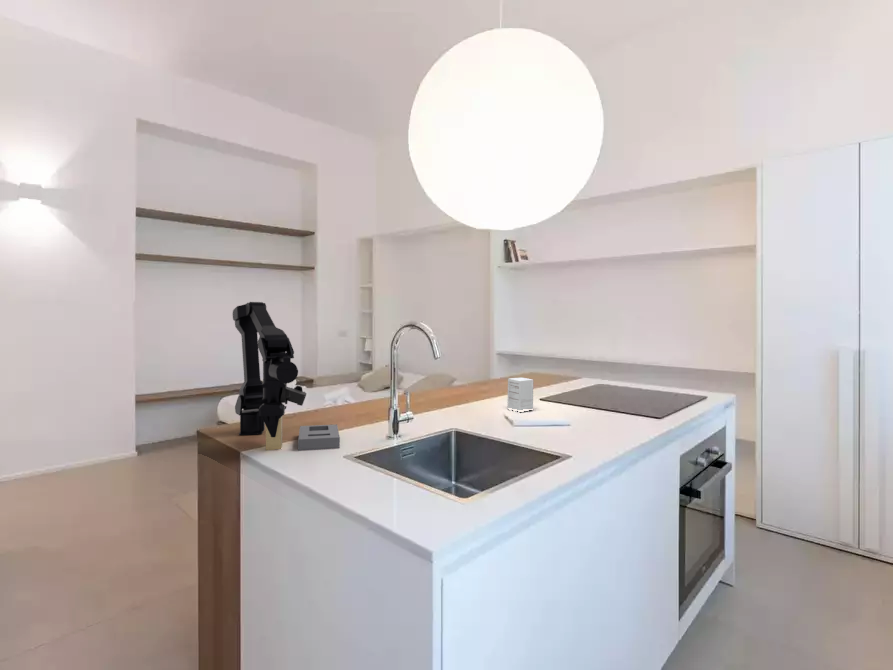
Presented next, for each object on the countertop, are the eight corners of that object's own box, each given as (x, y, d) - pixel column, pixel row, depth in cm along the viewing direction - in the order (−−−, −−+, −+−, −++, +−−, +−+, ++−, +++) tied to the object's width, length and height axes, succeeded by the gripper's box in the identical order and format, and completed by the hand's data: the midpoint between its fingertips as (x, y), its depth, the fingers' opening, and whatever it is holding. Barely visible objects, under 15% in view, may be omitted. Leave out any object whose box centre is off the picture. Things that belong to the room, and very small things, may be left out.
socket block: (298, 450, 132) (298, 439, 132) (299, 435, 147) (299, 426, 147) (339, 448, 135) (339, 437, 134) (337, 433, 150) (337, 424, 150)
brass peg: (265, 450, 131) (265, 413, 131) (267, 446, 135) (267, 410, 135) (281, 449, 132) (281, 413, 132) (282, 445, 136) (282, 410, 136)
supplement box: (520, 408, 196) (521, 377, 196) (533, 411, 190) (534, 379, 189) (506, 409, 192) (507, 378, 192) (519, 413, 186) (519, 380, 185)
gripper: (303, 383, 126) (303, 442, 127) (305, 374, 144) (305, 426, 145) (258, 384, 123) (258, 444, 124) (265, 374, 141) (265, 427, 142)
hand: (274, 435), depth 134 cm, fingers closed on brass peg, 4 cm apart
